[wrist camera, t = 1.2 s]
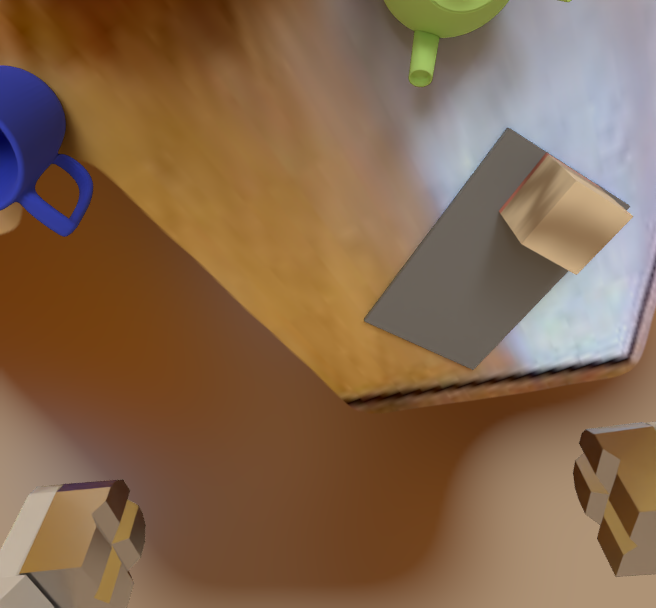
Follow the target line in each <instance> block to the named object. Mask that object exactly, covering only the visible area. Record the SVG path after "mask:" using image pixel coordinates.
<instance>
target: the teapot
mask: <svg viewBox="0 0 656 608" xmlns="http://www.w3.org/2000/svg"><path fill="white" fill-rule="evenodd" d="M508 1H509V0H384V2H385V4H386V6H387V7H388V9H389V10H390V11H391V13H392V14H393V15H394V16H395V17H396V18H397V19H398V21H400V22H401V23H402V24H403V25H405V26H406V27H407V28H409V29H411V30H413V31H414V38H413V46H412V54H411V62H410V70H409V82H410V83H411V84H412V85H414V86H417V87H425V86H427V85H429V84H430V83H431V82H432V78H433V72H434V66H435V61H436V55H437V49H438V43H439V38H449V37H456V36H460V35H464V34H467V33H469V32H472V31H474V30H476V29H478V28H479V27H481V26H483V25H484V24H486V23H487V22H489V21H490V20H491V19H492V18H493V17H495V16H496V15H497V14H498V13H499V12H500V11H501V10H502V9H503V7H504V6H505V5H506V4H507V2H508ZM559 1H564V2H570V1H571V0H559Z"/></svg>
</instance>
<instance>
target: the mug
mask: <svg viewBox="0 0 656 608" xmlns="http://www.w3.org/2000/svg"><path fill="white" fill-rule="evenodd" d="M65 129H66V121H65V114H64V111H63V108H62V106H61V103H60V101H59V99H58V98H57V96H56V95H55V93H54V92H53V91H52V90H51V89H50V87H49V86H48V85H47V84H46V83H44V82H43V81H42V80H41V79H39V78H38V77H36V76H35V75H33V74H31V73H29V72H27V71H25V70H23V69H20V68H16V67H11V66H0V210H3V209H5V208H6V207H8V206H9V205H11V204H12V203H14V202H19V203H20V204H21V205H22V206H23V207H24V208H25V209H26V210H27V211H28V212H29V213H30V214H31V215H32V216H34V217H35V218H36V219H37V220H39V221H40V222H41V223H43V224H44V225H45V226H47V227H48V228H50V229H51V230H53V231H54V232H56V233H58V234H59V235H61V236H64V237H65V236H68V235H69V234H71V233H72V232H73V231H74V230H75V229H76V228H77V226H78V225H79V223H80V221H81V219H82V218H83V216H84V214H85V212H86V210H87V208H88V206H89V204H90V201H91V198H92V193H93V182H92V179H91V176H90V175H89V173H88V172H87V170H86V169H85V168H84V167H83V166H82V165H81V164H80V163H79V162H77V161H76V160H75V159H73V158H71V157H70V156H68V155H65V154H58V150H59V148H60V146H61V143H62V141H63V138H64V135H65ZM50 164H56V165H58V166H59V167H61V168H62V169H64V170H65V171H66V172H68V173H69V174H70V175H71V176H72V177H73V179H75V181H76V183H77V185H78V187H79V191H80V192H79V193H80V194H79V200H78V203H77V205H76V208H75V210H74V211H73V213H72V215H71V216H70V218H67V217H66V216H64V215H63V214H62V213H60V212H59V211H57V210H56V209H55V208H53V207H52V206H51V205H49V204H48V203H47V202H45V201H44V200H43V199H42V198H41V197H40V196H39V195H38V194H37V193H36V191H35V185H36V182H37V180H38V179H39V177H40V176H41V175H42V174H43V172H44V171H45V170H46V169H47V168H48V167H49V166H50Z"/></svg>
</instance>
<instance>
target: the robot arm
mask: <svg viewBox="0 0 656 608" xmlns="http://www.w3.org/2000/svg"><path fill="white" fill-rule="evenodd" d="M579 444H580V446H581V448H582V450H583V452H584V453H583V454H582V455H581V456H580V457H578V458H577V459H576V460H575V465H574V471H573V476H574V484H575V490H576V493H577V496H578V499H579V501H580V504H581V506H582V508H583V510H584V512H585V514H586V515H587V516H589V517H590V518H591V519H593V520H594V521H595V522H597V523H598V524H599V525H600V529H599V533H598V537H597V539H598V542H599V544H600V546H601V548H602V550H603V552H604V554H605V556H606V558H607V560H608V562H609V564H610V566H611V568H612V570H613V572H614V574H615V576H616V577H620V576H636V575H651V574H656V422H649V423H642V422H641V423H633V424H624V425H616V426H608V427H599V428H591V429H586V430H585V431H584V432H583V433H582V434H581V438H580V442H579ZM129 493H130V489H129V488H128V486H127V485H126V483H125V482H124V480H112V481H98V482H85V483H73V484H61V485H51V486H41V487H36V488H35V489H34V490H33V491H32V492H31V493H30V494H29V495H28V496H27V499H26V500H25V502H24V504H23V506H22V508H21V510H20V512H19V514H18V516H17V518H16V520H15V522H14V524H13V526H12V528H11V530H10V532H9V534H8V536H7V538H6V540H5V542H4V544H3V546H2V548H1V550H0V608H127V607H128V603H129V600H130V596H131V592H132V589H133V585H134V582H133V579H132V577H131V575H130V573H129V571H130V569H131V568H132V567H133V566H134V565H135V564H136V563H137V562H138V561H139V559H140V558H141V555H142V551H143V547H144V543H145V526H146V525H145V521H144V517H143V513H142V511H141V509H140V507H139V505H137V504H135V503H133V502H131V501H129V500H128V496H129Z"/></svg>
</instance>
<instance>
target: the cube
mask: <svg viewBox="0 0 656 608" xmlns="http://www.w3.org/2000/svg"><path fill="white" fill-rule="evenodd" d="M499 212H500V214H501V215H502V217H503V218H504V220H505V221H506V222H507V224H508V225H509V227H510V228H511V230H512V231H513V233H514V234H515V236H516V237H517V238H518V240H519V241H520V243H521V244H522V245H524V246H526V247H527V248H529V249H531V250H533V251H535V252H536V253H538V254H540V255H542V256H544V257H545V258H547V259H549V260H551V261H552V262H554V263H556V264H558V265H560V266H561V267H563V268H565V269H567V270H569V271H570V272H572V273H574V274H576V275H577V274H578V273H579V272H580V271H581V270H582V269H583V268H584V267H585V266H586V265H587V264H588V263H589V262H590V260H591V259H592V258H593V257H594V256H595V255H596V254H597V253H598V252H599V251H600V250H601V249H602V248H603V247H604V246H605V245H606V244H607V243H608V242H609V241H610V240H611V239H612V238H613V237H614V236H615V235H616V234H617V233H618V232H619V231H620V230H621V229H622V228H623V227H624V226H625V225H626V224H627V223H628V222H629V220H630V219H631V218H632V217H633V216H632V215H631V214H630V213H629V212H628V211H626V210H625V209H624V208H623V207H622V206H621V205H619V204H618V203H617V202H616V201H615V200H614V199H613V198H611V197H610V196H609V195H608V194H607V193H606V192H605V191H603V190H602V189H601V188H600V187H599V186H598V185H596V184H594V183H593V182H591V181H590V180H588V179H587V178H585V177H584V176H582V175H580V174H579V173H577V172H576V171H574V170H573V169H571V168H570V167H568V166H567V165H565V164H563V163H562V162H560V161H559V160H557V159H556V158H554V157H553V156H551V155H549V154H548V153H545V155H544V156H543V157H542V158H541V160H540V161H539V162H538V163H537V165H536V166H535V167H534V168H533V169H532V171H531V172H530V173H529V174H528V176H527V177H526V178H525V179H524V181H523V182H522V183H521V184H520V186H519V187H518V188H517V189H516V190H515V192H514V193H513V194H512V195H511V197H510V198H509V199H508V200H507V202H506V203H505V204H504V205H503V206H502V208H501V209H500V210H499Z"/></svg>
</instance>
